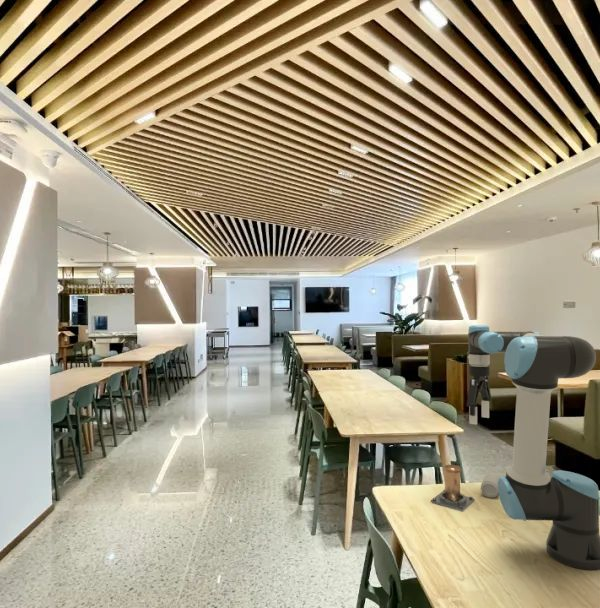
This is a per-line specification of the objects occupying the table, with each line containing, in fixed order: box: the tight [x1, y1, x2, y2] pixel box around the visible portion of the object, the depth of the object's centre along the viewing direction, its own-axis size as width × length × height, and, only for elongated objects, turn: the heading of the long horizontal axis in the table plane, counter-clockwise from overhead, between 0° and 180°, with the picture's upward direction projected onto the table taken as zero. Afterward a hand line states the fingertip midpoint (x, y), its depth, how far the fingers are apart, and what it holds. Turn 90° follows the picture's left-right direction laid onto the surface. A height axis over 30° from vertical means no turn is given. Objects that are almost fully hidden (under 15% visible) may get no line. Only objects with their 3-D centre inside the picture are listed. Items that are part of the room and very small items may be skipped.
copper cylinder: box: [443, 464, 462, 500], centre depth 172 cm, size 6×6×12 cm
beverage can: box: [480, 472, 501, 499], centre depth 180 cm, size 6×6×12 cm
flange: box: [430, 489, 476, 512], centre depth 172 cm, size 12×12×2 cm
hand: (479, 420), depth 178 cm, fingers open, 13 cm apart
